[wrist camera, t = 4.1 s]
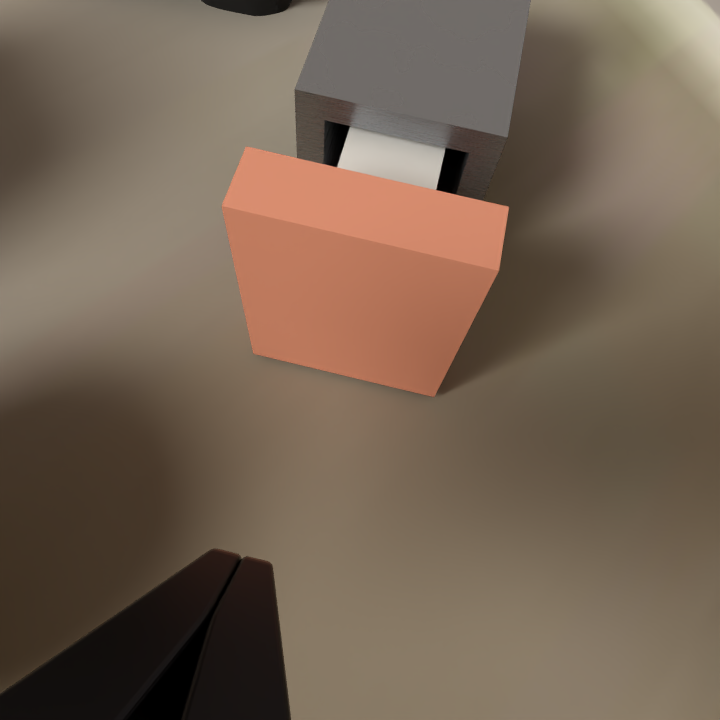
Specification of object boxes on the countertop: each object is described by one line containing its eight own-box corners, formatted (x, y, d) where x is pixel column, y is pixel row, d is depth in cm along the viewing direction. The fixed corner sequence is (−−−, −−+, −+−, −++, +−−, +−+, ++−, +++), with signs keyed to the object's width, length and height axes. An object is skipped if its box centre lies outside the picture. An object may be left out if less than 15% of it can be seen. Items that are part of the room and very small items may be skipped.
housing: (459, 260, 26) (507, 137, 19) (299, 223, 26) (294, 89, 19) (491, 95, 30) (539, -51, 23) (352, 64, 30) (363, -89, 24)
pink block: (434, 397, 23) (498, 270, 15) (253, 353, 23) (221, 206, 15) (474, 184, 27) (541, -3, 19) (322, 149, 27) (326, -50, 19)
